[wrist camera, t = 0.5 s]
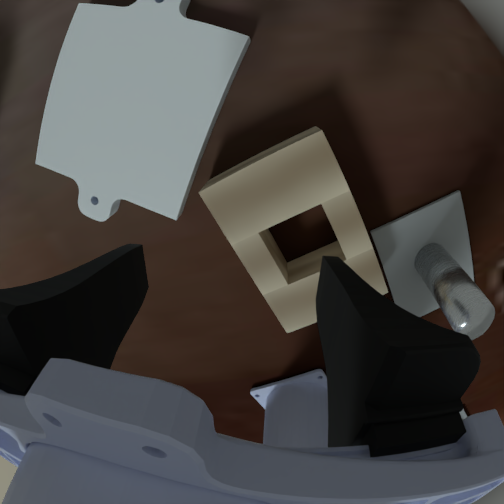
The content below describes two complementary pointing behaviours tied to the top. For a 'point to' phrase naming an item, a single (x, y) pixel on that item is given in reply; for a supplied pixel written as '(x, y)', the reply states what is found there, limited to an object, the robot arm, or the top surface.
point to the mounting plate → (136, 103)
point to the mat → (412, 240)
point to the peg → (454, 291)
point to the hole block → (282, 208)
